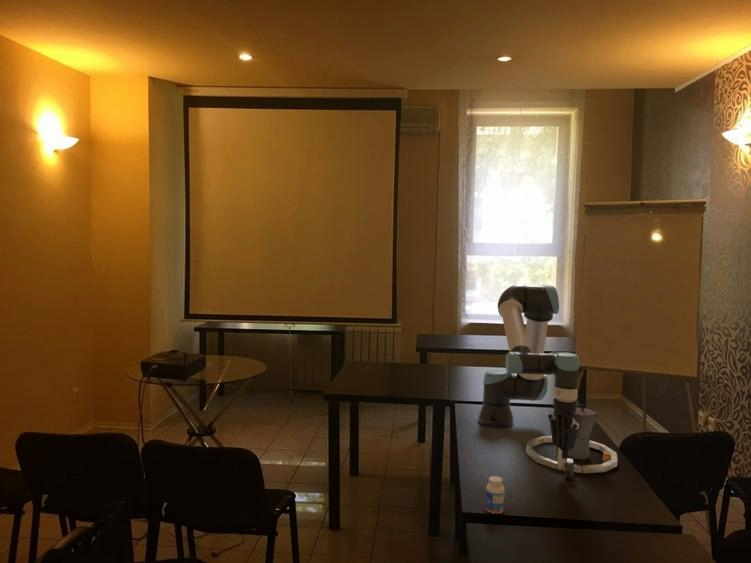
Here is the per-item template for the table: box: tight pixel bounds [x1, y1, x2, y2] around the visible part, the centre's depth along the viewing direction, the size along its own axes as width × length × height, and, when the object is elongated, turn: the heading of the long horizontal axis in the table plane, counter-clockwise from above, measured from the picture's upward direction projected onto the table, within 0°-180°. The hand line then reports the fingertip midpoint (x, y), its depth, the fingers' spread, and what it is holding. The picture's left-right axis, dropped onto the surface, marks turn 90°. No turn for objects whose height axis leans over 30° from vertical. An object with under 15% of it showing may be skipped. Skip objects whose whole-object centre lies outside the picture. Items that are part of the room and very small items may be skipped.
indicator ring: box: [525, 435, 618, 481], centre depth 218 cm, size 32×39×5 cm
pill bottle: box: [485, 475, 505, 514], centre depth 177 cm, size 6×5×10 cm
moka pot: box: [568, 403, 601, 461], centre depth 222 cm, size 10×15×20 cm, turn 76°
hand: (561, 466), depth 202 cm, fingers closed
